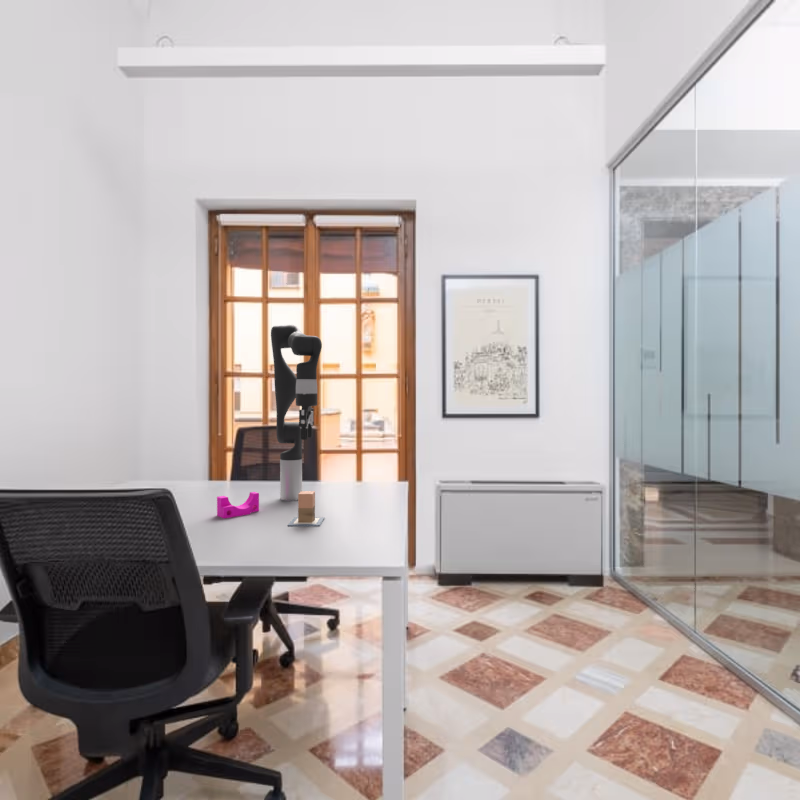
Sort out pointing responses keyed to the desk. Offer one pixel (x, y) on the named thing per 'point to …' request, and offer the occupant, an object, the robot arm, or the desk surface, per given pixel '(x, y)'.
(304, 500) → the terracotta cube
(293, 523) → the blue bordered cream board
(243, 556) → the desk surface
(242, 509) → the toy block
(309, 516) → the walnut cube
